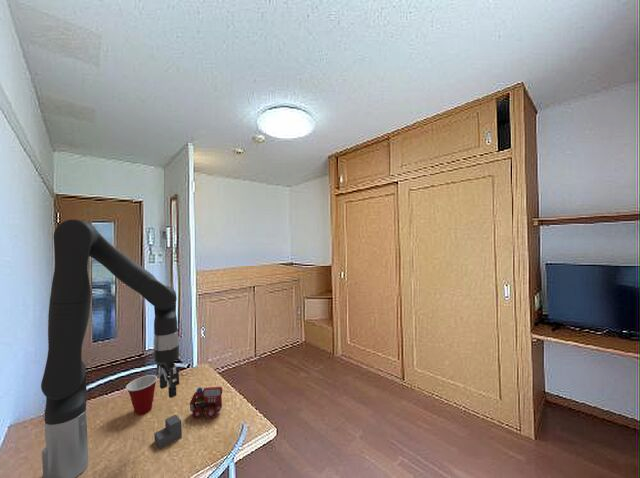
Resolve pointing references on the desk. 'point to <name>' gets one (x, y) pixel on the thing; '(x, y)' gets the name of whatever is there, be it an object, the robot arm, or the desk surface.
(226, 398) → the desk surface
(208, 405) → the toy fire truck
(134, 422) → the desk surface
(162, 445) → the grey stepped block
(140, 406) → the plastic cup
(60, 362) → the robot arm
